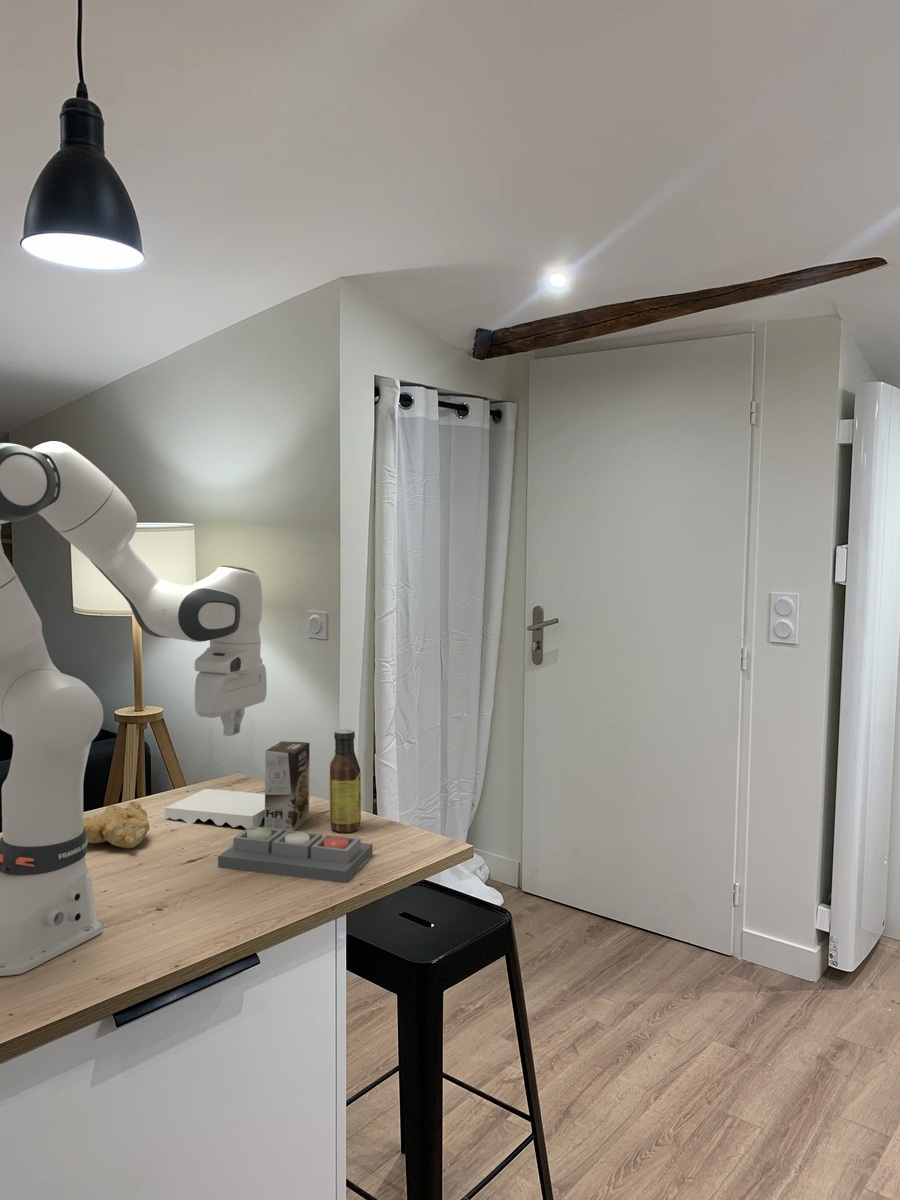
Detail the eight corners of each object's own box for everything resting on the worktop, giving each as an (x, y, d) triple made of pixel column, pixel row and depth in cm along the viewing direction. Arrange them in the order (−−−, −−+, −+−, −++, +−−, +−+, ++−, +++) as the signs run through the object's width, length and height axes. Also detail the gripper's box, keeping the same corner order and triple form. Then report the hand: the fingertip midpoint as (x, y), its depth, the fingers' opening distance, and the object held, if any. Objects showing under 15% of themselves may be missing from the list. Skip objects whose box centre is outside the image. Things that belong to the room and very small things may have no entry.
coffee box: (294, 832, 182) (294, 752, 180) (263, 830, 183) (263, 750, 181) (310, 818, 190) (310, 741, 189) (280, 815, 192) (281, 739, 190)
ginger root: (112, 857, 163) (106, 812, 163) (55, 861, 171) (49, 818, 171) (179, 835, 176) (173, 793, 177) (123, 840, 184) (117, 800, 185)
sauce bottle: (366, 830, 184) (367, 732, 182) (338, 836, 180) (339, 736, 179) (350, 821, 189) (352, 726, 187) (323, 826, 186) (324, 729, 184)
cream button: (303, 853, 164) (303, 841, 164) (280, 851, 165) (280, 839, 165) (313, 845, 168) (313, 833, 168) (290, 842, 169) (291, 831, 169)
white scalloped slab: (165, 823, 188) (252, 832, 182) (165, 807, 187) (252, 816, 182) (205, 803, 202) (288, 811, 196) (205, 788, 202) (287, 796, 196)
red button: (343, 858, 162) (343, 846, 162) (319, 855, 163) (320, 843, 163) (351, 850, 166) (352, 838, 166) (329, 847, 168) (329, 835, 167)
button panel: (345, 882, 157) (345, 858, 157) (218, 866, 163) (218, 843, 163) (372, 854, 171) (372, 832, 170) (253, 840, 177) (253, 819, 176)
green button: (264, 849, 166) (264, 837, 166) (242, 846, 167) (242, 834, 167) (275, 841, 170) (275, 829, 170) (253, 838, 171) (253, 827, 171)
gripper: (246, 650, 174) (243, 722, 175) (189, 662, 155) (186, 743, 155) (276, 653, 173) (273, 726, 173) (223, 665, 153) (219, 747, 154)
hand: (231, 734), depth 164 cm, fingers closed
